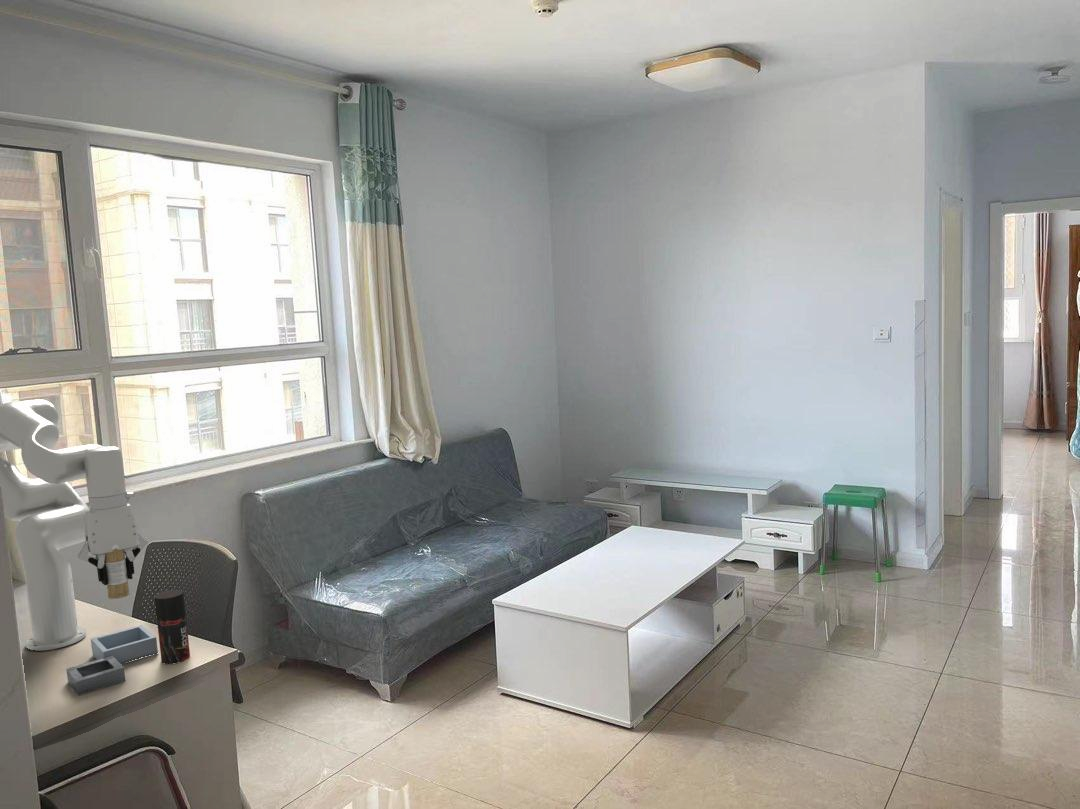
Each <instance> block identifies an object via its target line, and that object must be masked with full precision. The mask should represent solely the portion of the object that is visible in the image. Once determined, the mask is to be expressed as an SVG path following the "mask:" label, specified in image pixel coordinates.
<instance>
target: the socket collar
mask: <svg viewBox="0 0 1080 809" xmlns="http://www.w3.org/2000/svg"><path fill="white" fill-rule="evenodd" d="M65 670H66V677H67V683H68V684H69V686H70V687H71V689H72V690H73V691H74V693H76V695H77V696H79V697H80V696H82V695H85V694H88V692H89V693H92V692H94V691H98V690H101V689H104V688H107V687H111V686H114V685H117V684H120V683H123V682H126V672H125V667H124V666H123V664H122V665H121V664H120V663H119V662H118V661H117V660H116V659H115V658H114V657H113V656H109V657H106V658H102V659H99V660H96V659H95V660H92V661H89V662H84V663H82V664H79V665H75V666H71V667H68V668H66V669H65Z"/></svg>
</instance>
